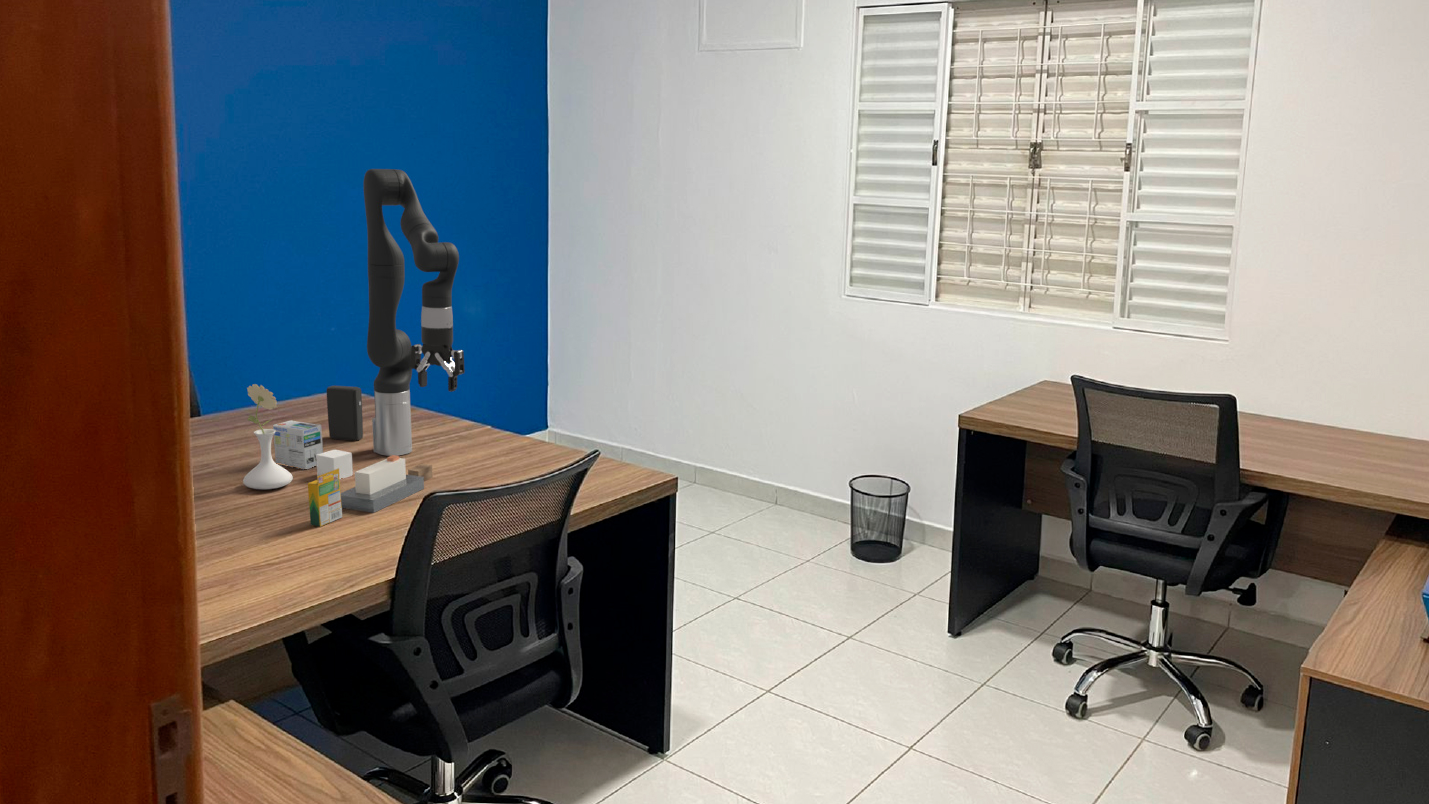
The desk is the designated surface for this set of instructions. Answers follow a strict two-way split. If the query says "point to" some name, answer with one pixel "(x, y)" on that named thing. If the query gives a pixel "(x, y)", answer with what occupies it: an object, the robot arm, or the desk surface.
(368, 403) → the desk surface
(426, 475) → the walnut stand
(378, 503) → the mounting plate
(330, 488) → the crayon box
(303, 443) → the light bulb box
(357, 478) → the white plug-in block
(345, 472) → the white cube
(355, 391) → the black upright block
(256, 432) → the flower in vase
